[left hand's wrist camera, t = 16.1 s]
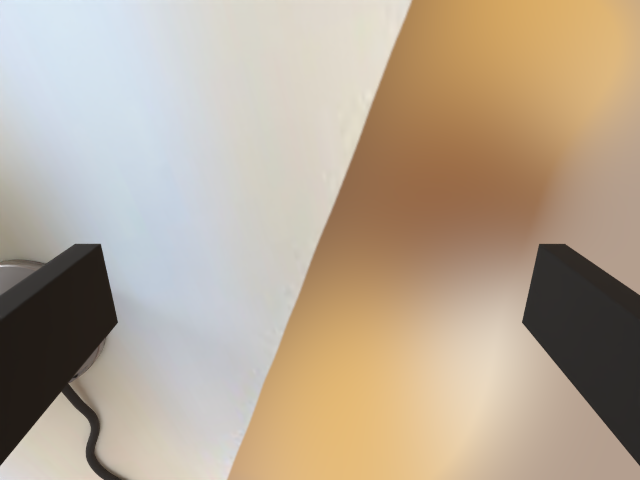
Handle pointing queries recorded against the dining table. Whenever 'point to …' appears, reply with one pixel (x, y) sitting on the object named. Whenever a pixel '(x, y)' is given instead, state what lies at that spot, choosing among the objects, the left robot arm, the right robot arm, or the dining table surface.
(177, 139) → the dining table surface
